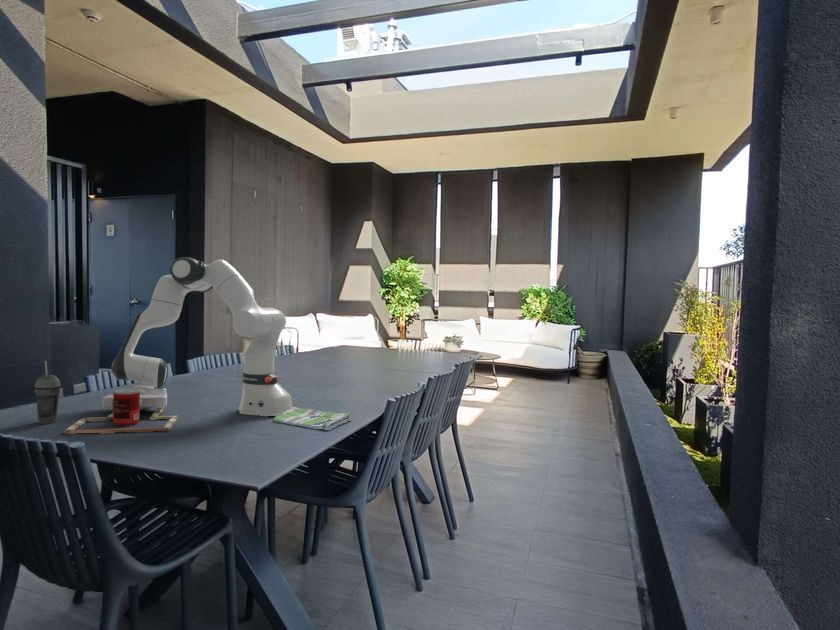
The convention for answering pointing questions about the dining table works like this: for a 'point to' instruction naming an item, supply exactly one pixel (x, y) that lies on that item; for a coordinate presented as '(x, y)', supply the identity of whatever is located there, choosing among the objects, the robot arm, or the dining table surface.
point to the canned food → (126, 406)
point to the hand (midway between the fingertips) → (130, 405)
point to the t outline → (153, 417)
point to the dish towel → (304, 418)
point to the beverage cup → (47, 397)
